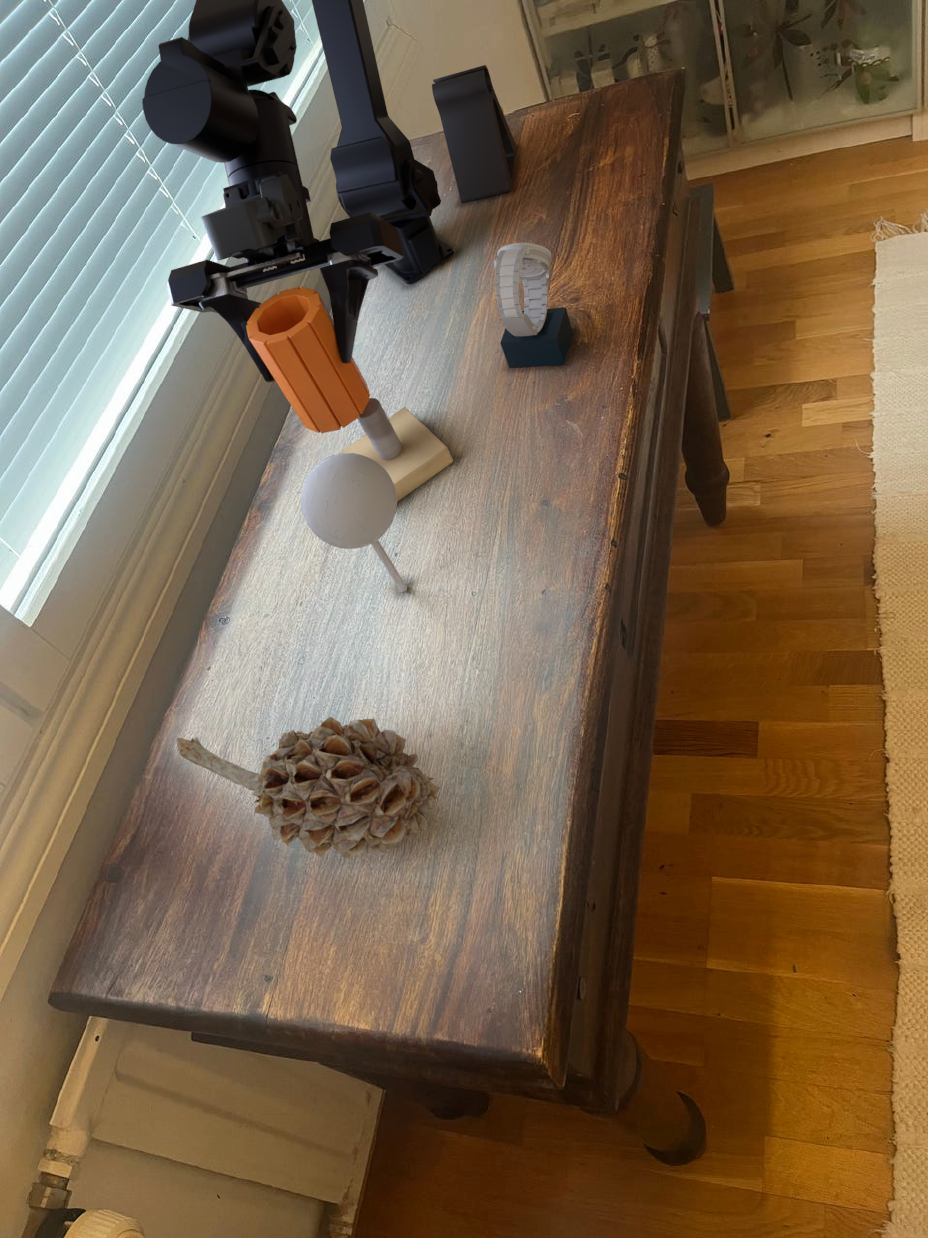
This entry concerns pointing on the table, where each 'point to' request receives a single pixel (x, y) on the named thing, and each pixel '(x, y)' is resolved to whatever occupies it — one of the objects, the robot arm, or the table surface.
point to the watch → (529, 308)
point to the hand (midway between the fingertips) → (307, 372)
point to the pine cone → (334, 787)
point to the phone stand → (475, 133)
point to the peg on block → (400, 447)
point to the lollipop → (351, 504)
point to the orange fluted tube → (308, 359)
